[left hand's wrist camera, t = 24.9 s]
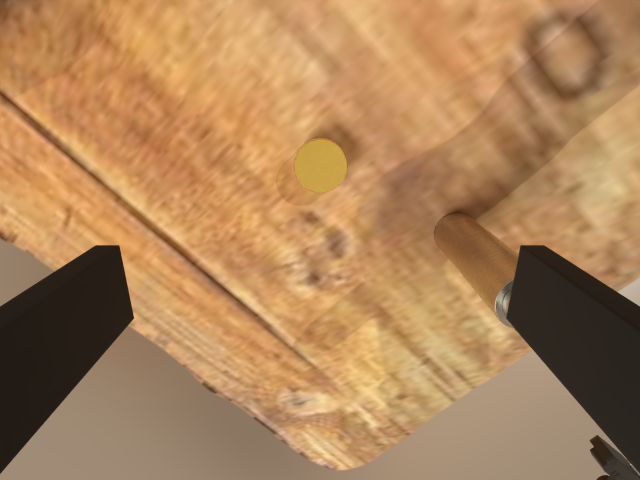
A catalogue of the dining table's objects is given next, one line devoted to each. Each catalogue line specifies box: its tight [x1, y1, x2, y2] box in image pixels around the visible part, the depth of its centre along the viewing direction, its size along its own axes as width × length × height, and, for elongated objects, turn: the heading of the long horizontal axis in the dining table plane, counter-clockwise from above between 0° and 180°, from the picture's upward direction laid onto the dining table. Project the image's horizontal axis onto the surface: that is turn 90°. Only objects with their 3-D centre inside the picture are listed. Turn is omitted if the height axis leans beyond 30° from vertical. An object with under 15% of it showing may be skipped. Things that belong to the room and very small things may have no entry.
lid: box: [294, 138, 347, 193], centre depth 37 cm, size 5×5×2 cm
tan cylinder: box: [434, 213, 519, 330], centre depth 33 cm, size 5×5×17 cm
